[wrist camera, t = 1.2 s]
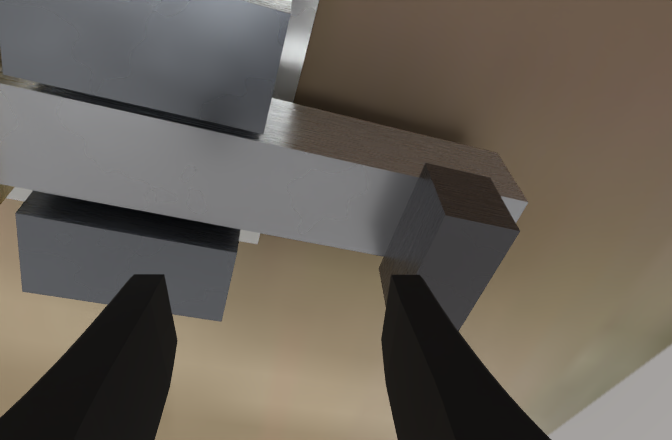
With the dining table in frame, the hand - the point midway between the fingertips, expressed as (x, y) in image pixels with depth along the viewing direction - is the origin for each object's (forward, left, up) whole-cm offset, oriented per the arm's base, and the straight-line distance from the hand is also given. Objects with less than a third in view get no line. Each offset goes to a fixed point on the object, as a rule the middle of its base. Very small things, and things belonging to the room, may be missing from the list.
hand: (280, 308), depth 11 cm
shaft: (+3, 0, -7) cm, 8 cm away
